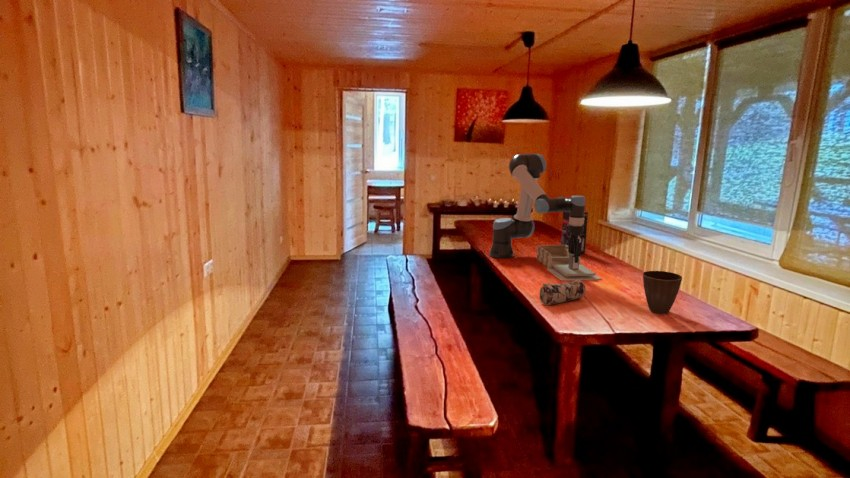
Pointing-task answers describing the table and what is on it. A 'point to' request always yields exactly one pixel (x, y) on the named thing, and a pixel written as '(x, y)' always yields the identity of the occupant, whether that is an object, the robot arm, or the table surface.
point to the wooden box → (553, 255)
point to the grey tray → (571, 278)
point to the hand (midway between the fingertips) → (573, 267)
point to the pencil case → (562, 292)
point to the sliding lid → (569, 271)
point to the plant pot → (661, 290)
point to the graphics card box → (566, 232)
